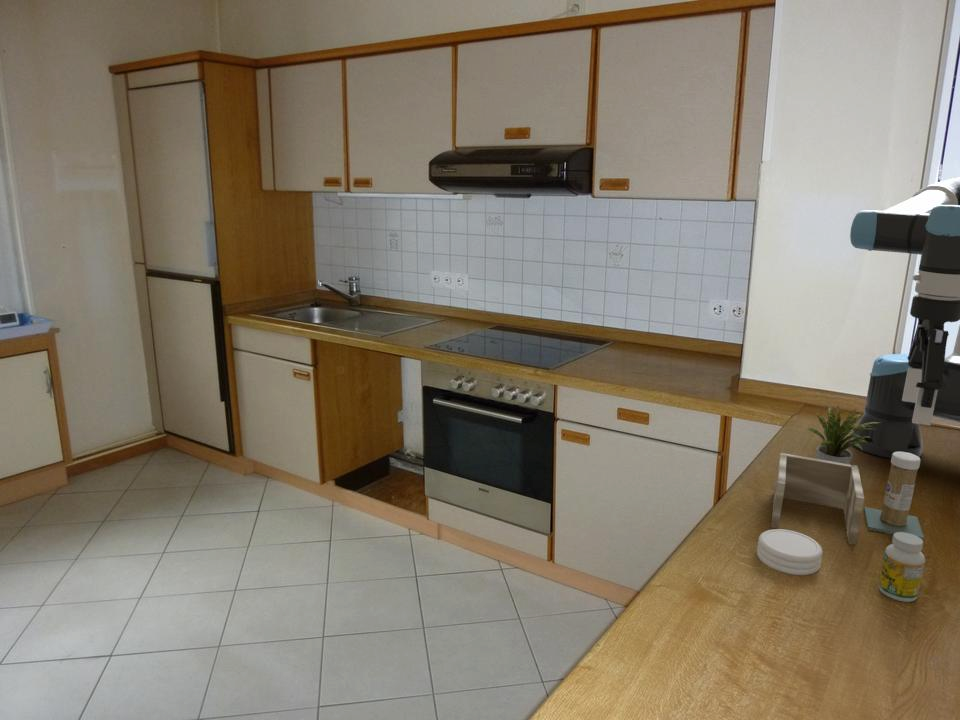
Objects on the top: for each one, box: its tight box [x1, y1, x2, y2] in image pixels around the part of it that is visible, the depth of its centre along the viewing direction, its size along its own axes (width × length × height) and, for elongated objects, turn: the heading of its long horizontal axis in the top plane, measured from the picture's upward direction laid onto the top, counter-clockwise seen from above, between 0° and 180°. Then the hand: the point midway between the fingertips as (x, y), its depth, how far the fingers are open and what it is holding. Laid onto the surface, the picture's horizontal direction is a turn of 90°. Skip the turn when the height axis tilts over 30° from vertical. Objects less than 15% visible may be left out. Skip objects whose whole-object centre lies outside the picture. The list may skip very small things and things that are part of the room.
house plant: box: [805, 405, 880, 465], centre depth 150 cm, size 14×14×16 cm
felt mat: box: [863, 506, 925, 542], centre depth 134 cm, size 9×9×1 cm
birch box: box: [771, 452, 865, 546], centre depth 134 cm, size 16×14×9 cm
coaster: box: [756, 528, 824, 576], centre depth 120 cm, size 10×10×4 cm
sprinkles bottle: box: [880, 452, 921, 526], centre depth 132 cm, size 5×5×14 cm
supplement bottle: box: [878, 532, 926, 603], centre depth 110 cm, size 5×5×10 cm
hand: (915, 412), depth 128 cm, fingers open, 13 cm apart
